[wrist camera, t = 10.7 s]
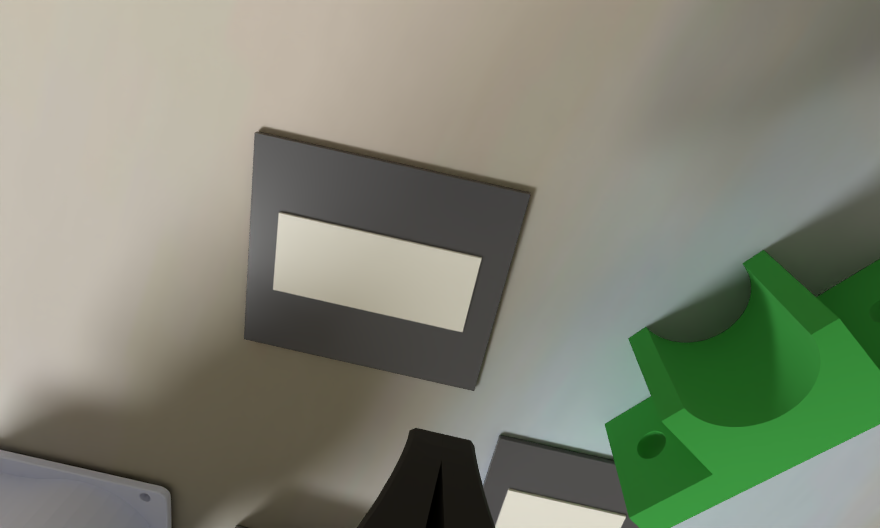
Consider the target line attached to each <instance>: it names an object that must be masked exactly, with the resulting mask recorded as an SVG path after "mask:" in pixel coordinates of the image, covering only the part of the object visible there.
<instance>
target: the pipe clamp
mask: <svg viewBox="0 0 880 528" xmlns="http://www.w3.org/2000/svg"><path fill="white" fill-rule="evenodd" d="M743 265H744V266H745V268H746V270H747V272H748V274H749V277H750V281H751V295H750V299H749V302H748V305H747V307H746V309H745V311H744V312H743V314H742V315H741V317H740V318H739V319H738V320H737V321H736V322H735V323H734V324H733V325H732V326H731V327H730V328H728V329H727V330H726V331H724V332H722V333H721V334H719V335H717V336H715V337H712V338H710V339H706V340H703V341H698V342H689V343H683V342H674V341H669V340H666V339H663V338H661V337H659V336H657V335H656V334H654V333H653V332H651V331H650V330H649V329H648V328H647V327H645V328H644V329H642V330H641V331H639V332H637V333H636V334H634V335H633V336H631V337H630V338H628V339H629V341H630V344H631V346H632V349H633V351H634V354H635V356H636V359H637V361H638V364H639V366H640V369H641V371H642V374H643V376H644V379H645V381H646V384H647V386H648V389H649V391H650V394H651V397H649V398H647V399H646V400H644V401H642V402H641V403H639V404H637V405H636V406H634V407H632V408H631V409H629V410H627V411H626V412H624V413H622V414H621V415H619V416H617V417H616V418H614V419H612V420H611V421H609V422H607V423H606V424H605V427H606V431H607V435H608V439H609V443H610V446H611V450H612V454H613V458H614V462H615V466H616V470H617V473H618V477H619V481H620V485H621V489H622V493H623V497H624V500H625V504H626V508H627V512H628V516H629V518H630V519H631V520H632V521H633V522H634V523H635V524H636V525H637V526H638V527H639V528H671V527H673V526H675V525H677V524H679V523H681V522H683V521H685V520H687V519H689V518H691V517H693V516H695V515H697V514H699V513H701V512H703V511H705V510H707V509H709V508H711V507H713V506H715V505H717V504H719V503H721V502H723V501H725V500H727V499H729V498H731V497H733V496H735V495H737V494H739V493H741V492H743V491H746V490H748V489H750V488H752V487H754V486H756V485H758V484H760V483H762V482H764V481H766V480H768V479H770V478H772V477H774V476H776V475H778V474H780V473H782V472H784V471H786V470H788V469H790V468H792V467H794V466H796V465H798V464H800V463H802V462H804V461H806V460H808V459H810V458H812V457H814V456H816V455H818V454H820V453H822V452H825V451H827V450H829V449H831V448H833V447H835V446H837V445H839V444H841V443H843V442H845V441H847V440H849V439H851V438H853V437H855V436H857V435H859V434H861V433H863V432H865V431H867V430H869V429H871V428H873V427H875V426H877V425H879V424H880V259H879V260H877V261H876V262H874V263H872V264H871V265H869V266H867V267H866V268H864V269H862V270H861V271H859V272H857V273H856V274H854V275H852V276H851V277H849V278H847V279H846V280H844V281H842V282H841V283H839V284H837V285H836V286H834V287H832V288H831V289H829V290H827V291H826V292H824V293H822V294H821V295H819V296H817V297H815V296H814V295H813V294H812V293H811V292H810V291H808V290H807V289H806V288H805V287H804V286H803V285H802V284H801V283H800V282H799V281H797V280H796V279H795V278H794V277H793V276H792V275H791V274H790V273H789V272H787V271H786V270H785V269H784V268H783V267H782V266H781V265H780V264H779V263H777V262H776V261H775V260H774V259H773V258H772V257H771V256H770V255H769V254H768V253H766V252H765V251H764V250H763V251H761V252H759V253H758V254H756V255H755V256H753V257H752V258H750V259H749V260H747V261H746V262H744V263H743Z"/></svg>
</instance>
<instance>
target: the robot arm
mask: <svg viewBox="0 0 880 528" xmlns="http://www.w3.org/2000/svg"><path fill="white" fill-rule="evenodd" d="M0 528H171V495H170V492H169V491H168V490H167V489H166V488H164V487H162V486H158V485H154V484H150V483H145V482H141V481H136V480H132V479H128V478H123V477H119V476H114V475H110V474H106V473H101V472H97V471H92V470H88V469H84V468H79V467H75V466H70V465H66V464H62V463H57V462H53V461H48V460H44V459H40V458H35V457H31V456H26V455H22V454H17V453H13V452H9V451H4V450H0ZM357 528H495V525H494V522H493V519H492V515H491V512H490V509H489V506H488V503H487V499H486V496H485V492H484V489H483V485H482V481H481V477H480V473H479V469H478V464H477V459H476V454H475V448H474V445H473V443H472V442H471V440H466V439H462V438H457V437H453V436H449V435H444V434H440V433H436V432H431V431H427V430H423V429H418V428H415V429H412V430H410V432H409V435H408V439H407V442H406V445H405V447H404V450H403V452H402V454H401V456H400V459H399V461H398V463H397V465H396V466H395V468H394V470H393V472H392V474H391V476H390V478H389V479H388V481H387V483H386V484H385V486H384V488H383V489H382V491H381V493H380V494H379V496H378V498H377V499H376V501H375V502H374V504H373V505H372V507H371V508H370V510H369V511H368V513H367V514H366V516H365V517H364V518H363V520H362V521H361V523H360V524H359V526H358V527H357Z"/></svg>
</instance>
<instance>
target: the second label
mask: <svg viewBox="0 0 880 528" xmlns="http://www.w3.org/2000/svg"><path fill="white" fill-rule="evenodd" d="M529 198H530V193H529V192H524V191H520V190H515V189H511V188H506V187H502V186H497V185H493V184H488V183H484V182H480V181H475V180H471V179H466V178H462V177H457V176H453V175H448V174H444V173H440V172H435V171H431V170H426V169H422V168H417V167H413V166H408V165H404V164H399V163H395V162H391V161H386V160H382V159H377V158H373V157H368V156H364V155H359V154H355V153H350V152H346V151H342V150H337V149H333V148H328V147H324V146H319V145H315V144H310V143H306V142H302V141H297V140H293V139H288V138H284V137H279V136H275V135H270V134H266V133H261V132H255V138H254V157H253V177H252V196H251V216H250V235H249V254H248V274H247V293H246V313H245V332H244V339H246V340H251V341H255V342H260V343H264V344H268V345H273V346H277V347H282V348H286V349H291V350H295V351H299V352H304V353H308V354H313V355H317V356H322V357H326V358H330V359H335V360H339V361H344V362H348V363H353V364H357V365H361V366H366V367H370V368H375V369H379V370H384V371H388V372H392V373H397V374H401V375H406V376H410V377H415V378H419V379H423V380H428V381H432V382H437V383H441V384H446V385H450V386H454V387H459V388H463V389H468V390H472V391H474V389H475V386H476V382H477V379H478V376H479V372H480V369H481V365H482V362H483V358H484V355H485V351H486V348H487V344H488V341H489V337H490V334H491V330H492V327H493V323H494V320H495V316H496V313H497V309H498V306H499V302H500V299H501V295H502V292H503V288H504V285H505V281H506V278H507V274H508V271H509V267H510V264H511V260H512V257H513V253H514V250H515V246H516V243H517V239H518V236H519V232H520V229H521V226H522V222H523V219H524V215H525V212H526V208H527V205H528V201H529Z"/></svg>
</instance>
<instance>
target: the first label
mask: <svg viewBox="0 0 880 528" xmlns="http://www.w3.org/2000/svg"><path fill="white" fill-rule="evenodd" d="M483 489H484V492H485V496H486V499H487V503H488V506H489V509H490V512H491V515H492V519H493V522H494V525H495V528H639V527H638V526H637V525H636V524H635V523H634V522H633V521H632V520H631V519H630V518H629V516H628V512H627V508H626V504H625V500H624V497H623V493H622V489H621V485H620V481H619V477H618V473H617V470H616V466H615V462H614V461H612V460H608V459H603V458H599V457H594V456H590V455H586V454H581V453H577V452H572V451H568V450H564V449H559V448H555V447H550V446H546V445H541V444H537V443H533V442H528V441H524V440H519V439H515V438H510V437H506V436H502V435H500V436H499V439H498V442H497V445H496V448H495V451H494V454H493V457H492V460H491V463H490V466H489V469H488V472H487V475H486V478H485V481H484V484H483Z"/></svg>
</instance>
